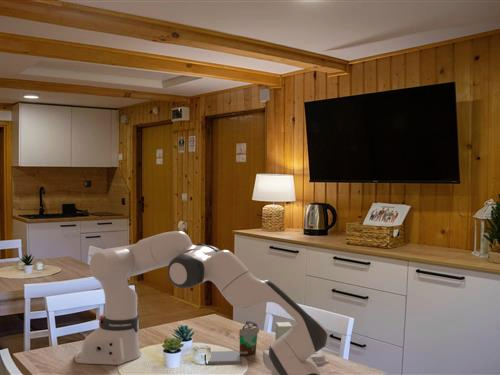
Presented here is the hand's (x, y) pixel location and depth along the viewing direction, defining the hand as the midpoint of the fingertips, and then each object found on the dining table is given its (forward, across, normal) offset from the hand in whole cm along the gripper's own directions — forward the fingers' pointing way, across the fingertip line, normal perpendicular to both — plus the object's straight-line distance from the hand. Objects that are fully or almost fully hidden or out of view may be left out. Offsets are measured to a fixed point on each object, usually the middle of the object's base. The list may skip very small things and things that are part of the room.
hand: (289, 349), depth 174 cm
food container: (+16, +11, +6) cm, 21 cm away
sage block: (+10, 0, +6) cm, 12 cm away
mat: (+10, +22, +6) cm, 25 cm away
